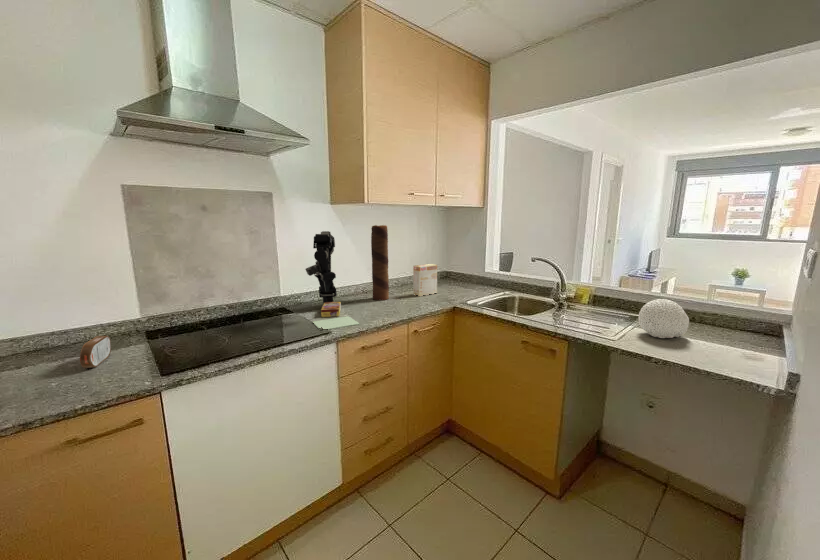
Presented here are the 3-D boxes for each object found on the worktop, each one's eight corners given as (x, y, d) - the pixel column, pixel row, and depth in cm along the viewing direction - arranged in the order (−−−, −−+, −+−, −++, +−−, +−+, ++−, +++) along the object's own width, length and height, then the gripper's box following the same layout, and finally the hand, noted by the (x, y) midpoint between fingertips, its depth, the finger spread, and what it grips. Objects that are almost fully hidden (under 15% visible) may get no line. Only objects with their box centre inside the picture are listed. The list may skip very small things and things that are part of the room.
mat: (312, 322, 154) (312, 321, 154) (348, 316, 163) (348, 316, 163) (321, 330, 143) (321, 330, 142) (359, 324, 152) (359, 323, 152)
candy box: (320, 308, 162) (324, 302, 177) (321, 317, 163) (324, 309, 177) (339, 308, 163) (340, 301, 178) (339, 316, 164) (341, 309, 179)
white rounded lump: (687, 327, 122) (672, 288, 130) (635, 337, 134) (624, 301, 142) (702, 340, 133) (687, 304, 141) (653, 349, 145) (642, 315, 153)
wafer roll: (375, 301, 195) (374, 225, 187) (370, 297, 204) (368, 225, 196) (391, 300, 199) (391, 225, 191) (385, 296, 208) (385, 225, 201)
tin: (103, 355, 116) (99, 332, 115) (114, 353, 117) (111, 331, 116) (80, 373, 102) (75, 347, 101) (93, 371, 104) (89, 346, 102)
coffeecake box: (430, 292, 222) (431, 263, 219) (437, 294, 216) (437, 264, 213) (412, 294, 214) (412, 265, 210) (419, 296, 208) (419, 266, 205)
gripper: (301, 258, 165) (303, 288, 168) (312, 262, 150) (313, 295, 153) (323, 257, 171) (324, 286, 174) (335, 261, 156) (336, 293, 158)
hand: (324, 290), depth 165 cm, fingers open, 7 cm apart
